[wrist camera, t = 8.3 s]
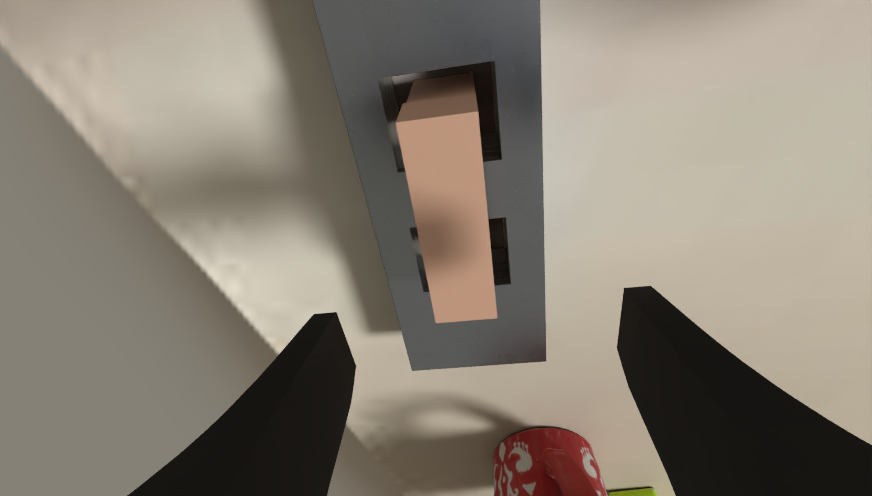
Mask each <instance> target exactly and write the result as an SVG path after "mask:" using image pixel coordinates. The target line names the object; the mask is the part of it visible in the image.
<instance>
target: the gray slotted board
mask: <svg viewBox="0 0 872 496" xmlns="http://www.w3.org/2000/svg"><path fill="white" fill-rule="evenodd" d="M312 1H313V5H314V8H315V12H316V16H317V19H318V23H319V27H320V31H321V34H322V38H323V42H324V45H325V49H326V53H327V57H328V60H329V64H330V68H331V71H332V75H333V79H334V83H335V86H336V90H337V94H338V97H339V101H340V105H341V108H342V112H343V116H344V120H345V123H346V127H347V131H348V134H349V138H350V142H351V146H352V149H353V153H354V157H355V160H356V164H357V168H358V172H359V175H360V179H361V183H362V186H363V190H364V194H365V198H366V201H367V205H368V209H369V212H370V216H371V220H372V224H373V227H374V231H375V235H376V238H377V242H378V246H379V250H380V253H381V257H382V261H383V264H384V268H385V272H386V276H387V279H388V283H389V287H390V290H391V294H392V298H393V301H394V305H395V309H396V313H397V316H398V320H399V324H400V327H401V331H402V335H403V339H404V342H405V346H406V350H407V353H408V357H409V361H410V365H411V368H412V371H416V370H430V369H444V368H458V367H472V366H486V365H500V364H514V363H528V362H542V361H546V323H545V265H544V207H543V150H542V92H541V34H540V0H312ZM483 62H491V75H492V88H493V101H494V114H495V127H496V133H490V134H483V135H480V137H481V147H482V158H483V169H484V180H485V190H486V201H487V212H488V219H494V218H503V230H504V243H505V247H502V248H492V249H491V255H492V266H493V276H494V287H495V298H496V309H497V318H495V319H482V320H470V321H457V322H445V323H436V321H435V316H434V311H433V306H432V301H431V296H430V291H429V286H428V281H427V276H426V271H425V266H424V261H423V256H422V251H421V246H420V241H419V236H418V231H417V226H416V221H415V216H414V211H413V206H412V201H411V196H410V191H409V186H408V181H407V176H406V171H405V166H404V161H403V156H402V151H401V146H400V142H399V137H398V132H397V127H396V120H397V118H398V115H399V110H398V105H397V100H396V95H395V90H394V85H393V80H392V76H398V75H405V74H411V73H418V72H424V71H431V70H437V69H444V68H450V67H457V66H464V65H470V64H477V63H483Z"/></svg>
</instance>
